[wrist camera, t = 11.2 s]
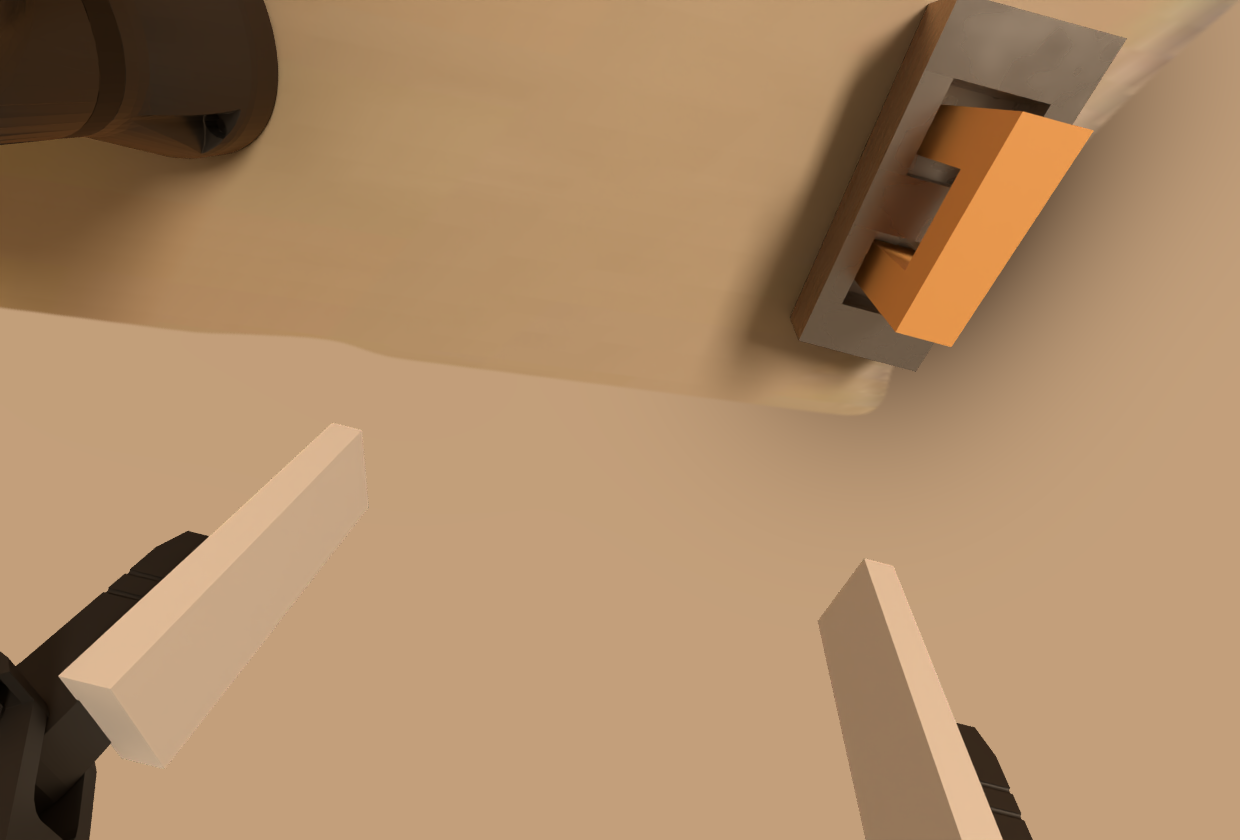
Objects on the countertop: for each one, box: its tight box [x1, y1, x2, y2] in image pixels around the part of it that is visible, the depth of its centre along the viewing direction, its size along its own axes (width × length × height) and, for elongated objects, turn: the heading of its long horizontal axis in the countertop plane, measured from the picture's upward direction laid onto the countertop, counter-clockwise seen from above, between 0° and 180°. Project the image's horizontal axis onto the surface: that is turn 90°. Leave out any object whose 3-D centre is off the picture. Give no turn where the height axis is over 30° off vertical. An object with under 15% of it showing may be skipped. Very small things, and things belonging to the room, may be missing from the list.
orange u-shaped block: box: [854, 105, 1093, 347], centre depth 28 cm, size 3×10×10 cm, turn 168°
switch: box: [790, 0, 1127, 372], centre depth 30 cm, size 8×18×4 cm, turn 168°
